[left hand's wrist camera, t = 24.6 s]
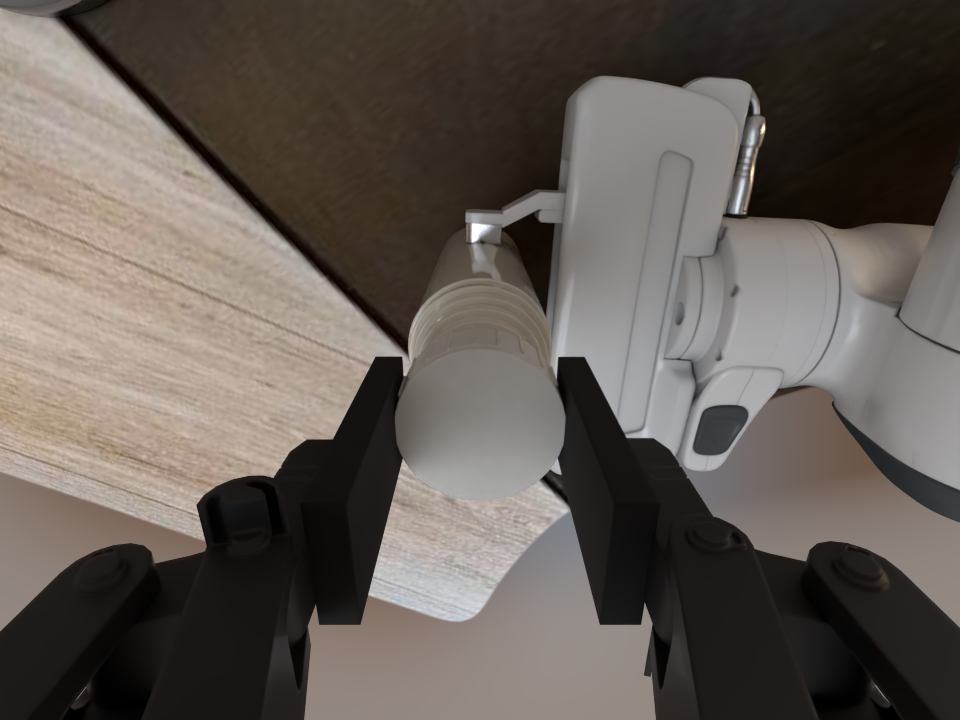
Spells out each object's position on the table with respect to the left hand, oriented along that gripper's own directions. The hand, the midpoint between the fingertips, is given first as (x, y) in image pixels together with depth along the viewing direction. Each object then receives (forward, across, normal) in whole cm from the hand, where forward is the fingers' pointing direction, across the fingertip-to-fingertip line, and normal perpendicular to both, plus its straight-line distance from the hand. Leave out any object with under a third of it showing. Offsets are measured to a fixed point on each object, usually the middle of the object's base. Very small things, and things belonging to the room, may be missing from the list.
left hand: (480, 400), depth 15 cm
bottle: (+19, 0, 0) cm, 19 cm away
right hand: (+13, -1, 0) cm, 13 cm away
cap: (-1, 0, 0) cm, 1 cm away
